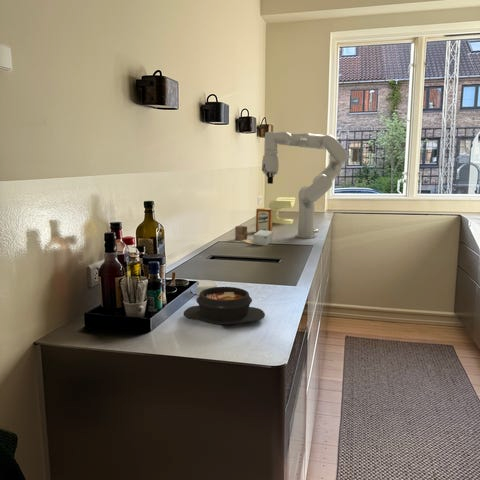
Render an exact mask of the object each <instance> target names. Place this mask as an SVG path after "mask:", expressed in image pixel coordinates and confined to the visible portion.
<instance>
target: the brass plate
mask: <svg viewBox="0 0 480 480" xmlns="http://www.w3.org/2000/svg"><path fill="white" fill-rule="evenodd" d="M238 241H239V242H241V243H245V244H246V243H247V244H249V245H254V244H253V238H247V240H238Z"/></svg>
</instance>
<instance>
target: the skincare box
mask: <svg viewBox="0 0 480 480" xmlns="http://www.w3.org/2000/svg"><path fill="white" fill-rule="evenodd" d="M273 235H274V231H273V230H272V231H266V230H260V231H258V232H257V233H256V232H255V233H253V235H252V239H253V244H252V245H259V246H265V247H266V246H268V245H269V244H270V243H271V242H274V241H273V237H274V236H273Z"/></svg>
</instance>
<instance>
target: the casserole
mask: <svg viewBox="0 0 480 480" xmlns="http://www.w3.org/2000/svg"><path fill="white" fill-rule="evenodd" d="M252 302H253V299H252V297H250V294H249V292H248V291H247V290H246V289H243V288H239V287H233V286H217V287H213V288H208V289H205V290H203V291H201V292H200V294H199V295H198V297H197V298H196V303H197V304H198V305H193V306H190V307H188V308H187V309H185V310H184V311H183V313H182V314H183V317H185V319H188V320H193V321H199V322H202V323H207V324H211V325H216V326H233V325H237V324H243V323H254V322H255V323H256V322H259V321H261V320H263V319H264V318H265V316H266V314H265V312H264V310H262V309H261V308H258V307H255V306H253V307H252V306H250V305H251V304H252Z"/></svg>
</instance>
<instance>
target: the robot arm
mask: <svg viewBox="0 0 480 480" xmlns="http://www.w3.org/2000/svg"><path fill="white" fill-rule="evenodd" d="M278 145H280V146H288V147H290V146H291V147H299V148H305V149H308V148H309V149H316V150H317V149H318V150H326V152H328V154H329V155H328V158H329V162H328V165H327V166H326V167H325V168H324V169H323V170H322V171H321V172H320V173H318V174H317V175H316V176H315V177H314V178H313V179H312V184H311V185H304V186H302V187H300V189H299V191H298V196H297V197H298V222H297V223H298V225H297V226H298V227H297V228H298V229H297V233H295V237H296V238H303V239H312V238H314V239H315V238H316V235H317V234H316V233H319V229H314V225H315V224H314V223H315V202H317V201H318V200H319V199H321V198H322V197H323V196H324V195H325V194H326V193H327V192H329V191H330V190H331V188H332V187H333V181H334V180H335V179H336V178H337V177H338V176H339V175H340V173H341V172H342V169H343V168H342V167H343V164H344V163H347V161H348V158H349V154H348V152H347V150H346V149H345V148H344V146H343V145H342V144H341V143H340V142H339V140H338V139H336V137H335V136H333V135H332V134H316V133H303V132H302V133H290V132H287V131H278V132H275V131H266V132H265V134H264V155H263V156H262V161H261V171H262V172H263V173H262V174H263V175H265V176H266V177H267V181H266V182H267V184H269V185H272V184H274V177H275V175H277V174H278V171H279V167H280V166H279V157H278V154H279V151H278Z"/></svg>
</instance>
